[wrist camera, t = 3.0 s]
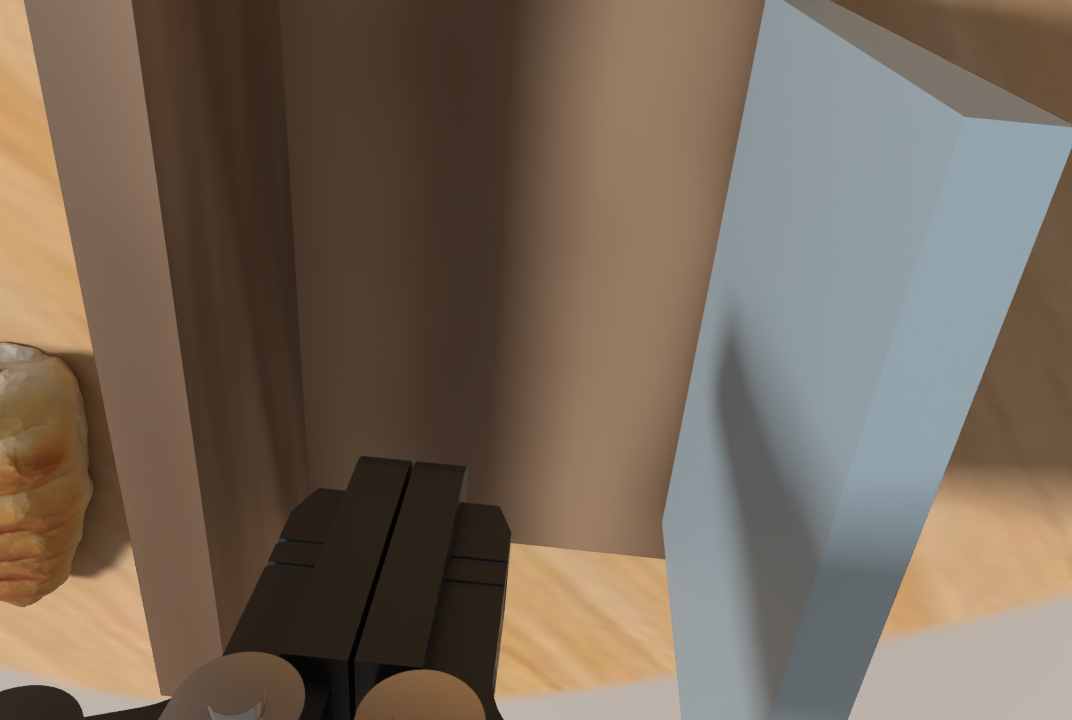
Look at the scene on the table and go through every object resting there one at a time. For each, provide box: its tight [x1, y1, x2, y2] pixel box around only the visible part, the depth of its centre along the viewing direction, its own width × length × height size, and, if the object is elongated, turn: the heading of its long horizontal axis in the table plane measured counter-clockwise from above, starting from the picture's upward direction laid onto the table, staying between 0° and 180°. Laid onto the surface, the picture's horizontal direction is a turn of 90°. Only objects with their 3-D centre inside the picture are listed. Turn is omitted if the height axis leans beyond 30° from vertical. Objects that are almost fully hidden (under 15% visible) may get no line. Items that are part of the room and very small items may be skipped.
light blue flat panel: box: [662, 0, 1072, 720], centre depth 15 cm, size 2×13×10 cm, turn 176°
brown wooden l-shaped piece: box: [24, 0, 765, 696], centre depth 18 cm, size 12×16×9 cm
